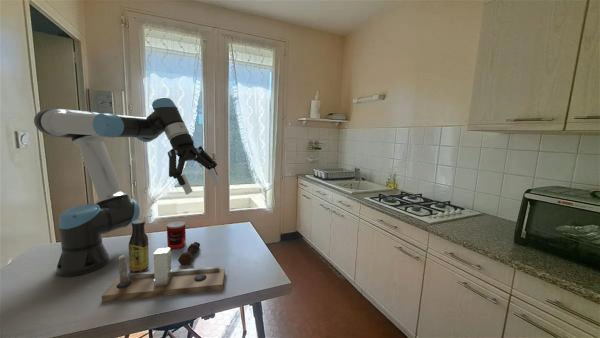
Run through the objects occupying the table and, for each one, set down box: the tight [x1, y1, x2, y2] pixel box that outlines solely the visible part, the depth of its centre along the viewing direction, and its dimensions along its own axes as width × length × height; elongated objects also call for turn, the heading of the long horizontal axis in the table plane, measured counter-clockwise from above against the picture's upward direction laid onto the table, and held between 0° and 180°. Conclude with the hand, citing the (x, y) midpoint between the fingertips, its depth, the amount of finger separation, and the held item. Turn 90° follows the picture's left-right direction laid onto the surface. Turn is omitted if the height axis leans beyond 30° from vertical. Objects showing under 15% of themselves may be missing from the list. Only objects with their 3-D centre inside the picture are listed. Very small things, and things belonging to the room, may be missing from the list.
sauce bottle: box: [128, 219, 150, 274], centre depth 91 cm, size 6×6×20 cm
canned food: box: [166, 220, 187, 251], centre depth 112 cm, size 8×8×11 cm
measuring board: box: [101, 254, 226, 302], centre depth 83 cm, size 36×10×12 cm, turn 103°
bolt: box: [177, 241, 201, 267], centre depth 104 cm, size 6×5×15 cm
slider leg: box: [153, 247, 173, 286], centre depth 82 cm, size 4×6×11 cm, turn 13°
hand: (204, 188), depth 88 cm, fingers open, 13 cm apart
